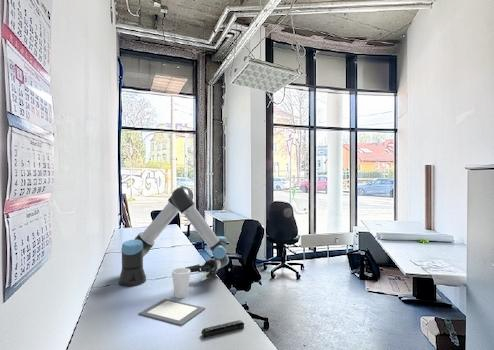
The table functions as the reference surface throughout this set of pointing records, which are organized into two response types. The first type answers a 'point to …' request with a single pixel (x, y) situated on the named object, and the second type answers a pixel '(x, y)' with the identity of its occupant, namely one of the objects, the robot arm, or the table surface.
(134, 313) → the table surface
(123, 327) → the table surface
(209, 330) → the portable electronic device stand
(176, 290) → the foam cup
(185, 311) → the picture frame
